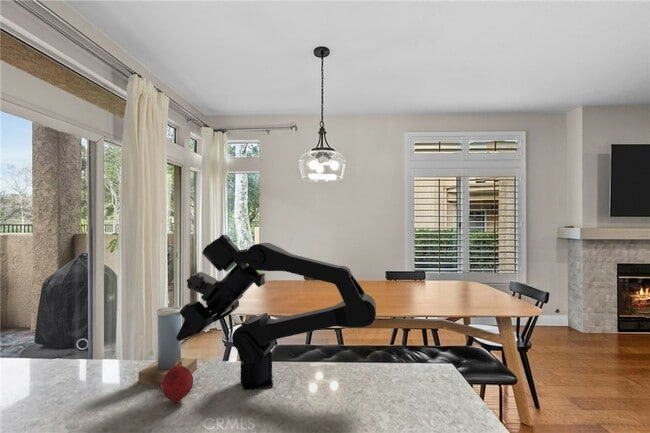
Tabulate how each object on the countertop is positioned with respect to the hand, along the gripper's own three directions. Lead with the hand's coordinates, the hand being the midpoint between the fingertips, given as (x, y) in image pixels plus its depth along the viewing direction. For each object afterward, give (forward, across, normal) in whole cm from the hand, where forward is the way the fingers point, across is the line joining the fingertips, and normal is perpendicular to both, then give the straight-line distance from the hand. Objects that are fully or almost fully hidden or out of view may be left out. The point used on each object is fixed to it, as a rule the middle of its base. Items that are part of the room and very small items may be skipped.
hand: (189, 332), depth 81 cm
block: (+11, 0, +4) cm, 11 cm away
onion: (+5, +11, +10) cm, 15 cm away
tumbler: (+9, 0, +2) cm, 9 cm away
